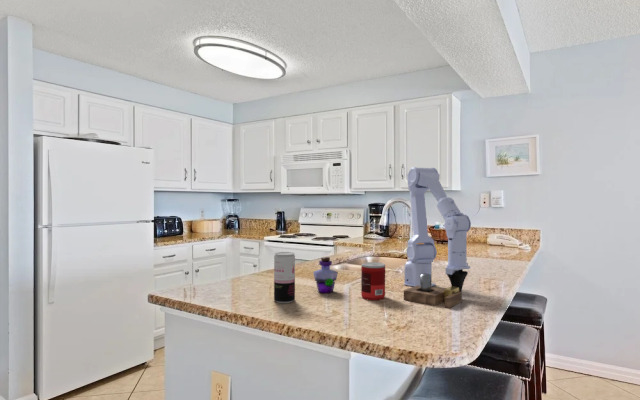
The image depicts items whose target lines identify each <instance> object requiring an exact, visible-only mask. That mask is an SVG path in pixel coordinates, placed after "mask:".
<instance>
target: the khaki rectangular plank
mask: <svg viewBox="0 0 640 400" xmlns="http://www.w3.org/2000/svg"><path fill="white" fill-rule="evenodd" d="M456 292H459V287H455V286H448V287H446V288H444V301H443V303H445V297H447V296H449V295H451V294H454V293H456Z"/></svg>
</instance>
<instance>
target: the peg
mask: <svg viewBox="0 0 640 400" xmlns="http://www.w3.org/2000/svg"><path fill="white" fill-rule="evenodd" d="M432 275H433V274H432ZM432 275H431V274H426V273H422V274H420V291H422V292H428V293H430V292H431V282H432ZM432 283H433V282H432Z"/></svg>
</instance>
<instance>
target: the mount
mask: <svg viewBox="0 0 640 400" xmlns="http://www.w3.org/2000/svg"><path fill="white" fill-rule="evenodd" d="M444 289H445V288H444ZM444 289H443V288H437V287H433V286H432V287H431V292H430V293H428V292H422V291H420V286H419V285H417V286H411V287H410V288H407V289H404V290H403V301H409V302H412V303H413V302H415V303H420V304H425V305H429V306H430V305H431V306H437V305H439V304H441V303H444V308H446V309H451V308H452V307H456V306H457V305H458V304H460V303H461V302H463V301H462V300H463V292H462V291H461V292H456V293H454V294H451V295H449V296H447V297H445V302H444Z"/></svg>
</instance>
